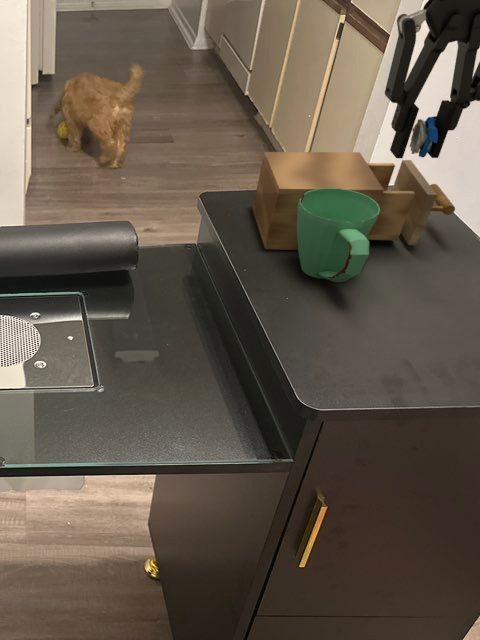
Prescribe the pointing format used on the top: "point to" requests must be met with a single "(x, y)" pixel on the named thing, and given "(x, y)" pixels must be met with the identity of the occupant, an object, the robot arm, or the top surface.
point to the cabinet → (304, 188)
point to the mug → (334, 232)
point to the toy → (423, 136)
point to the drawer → (405, 203)
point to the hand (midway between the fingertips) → (413, 153)
